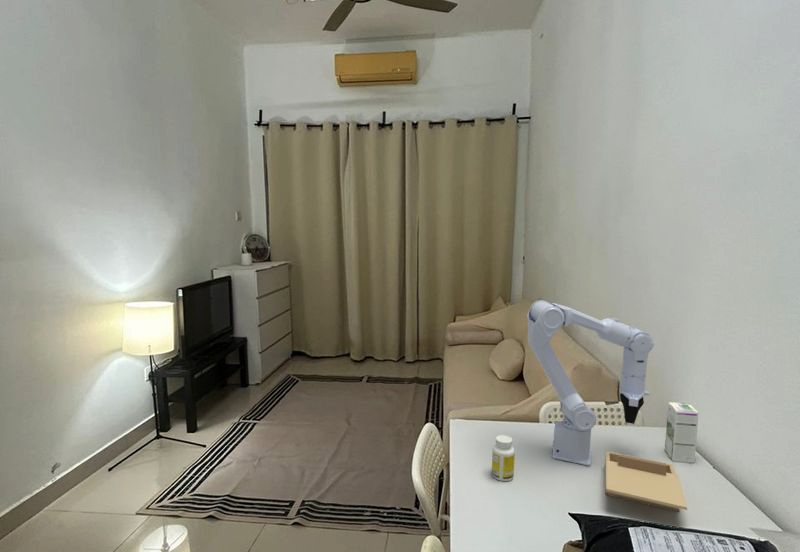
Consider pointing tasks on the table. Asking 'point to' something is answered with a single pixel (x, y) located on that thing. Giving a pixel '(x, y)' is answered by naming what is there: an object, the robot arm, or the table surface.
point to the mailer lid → (644, 481)
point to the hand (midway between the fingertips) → (629, 422)
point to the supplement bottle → (503, 459)
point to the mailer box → (614, 457)
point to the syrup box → (681, 432)
